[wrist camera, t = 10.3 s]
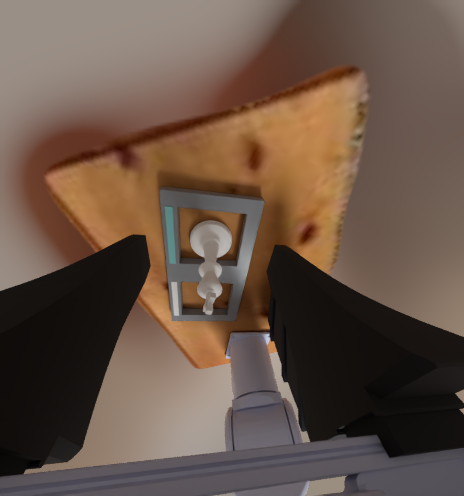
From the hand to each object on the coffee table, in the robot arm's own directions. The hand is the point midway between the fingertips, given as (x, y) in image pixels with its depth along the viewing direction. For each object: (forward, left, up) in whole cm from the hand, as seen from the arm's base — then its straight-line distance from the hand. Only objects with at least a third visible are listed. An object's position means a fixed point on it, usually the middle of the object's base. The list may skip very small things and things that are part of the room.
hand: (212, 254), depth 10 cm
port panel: (-9, 0, -9) cm, 13 cm away
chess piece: (-5, 0, -10) cm, 11 cm away
